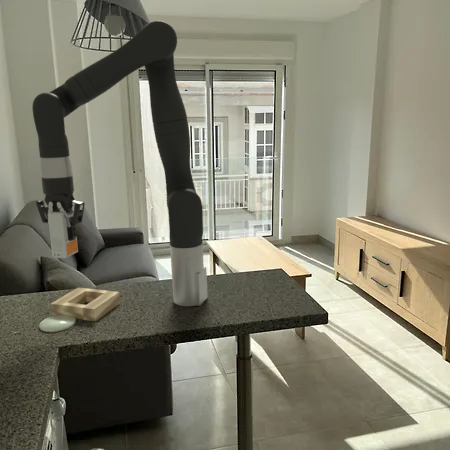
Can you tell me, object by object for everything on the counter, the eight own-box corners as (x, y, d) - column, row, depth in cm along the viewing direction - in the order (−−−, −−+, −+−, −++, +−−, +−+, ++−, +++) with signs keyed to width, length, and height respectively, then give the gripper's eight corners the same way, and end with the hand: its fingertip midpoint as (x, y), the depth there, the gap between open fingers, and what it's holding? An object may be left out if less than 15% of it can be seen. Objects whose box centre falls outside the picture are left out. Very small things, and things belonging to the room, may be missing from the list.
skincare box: (66, 258, 114) (61, 213, 111) (52, 257, 115) (46, 213, 112) (79, 251, 119) (74, 208, 116) (65, 251, 120) (60, 208, 117)
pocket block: (120, 303, 128) (118, 292, 127) (95, 321, 117) (94, 309, 116) (79, 298, 132) (78, 287, 132) (52, 315, 121) (50, 303, 121)
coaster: (82, 318, 119) (82, 316, 119) (60, 334, 111) (60, 331, 110) (55, 314, 122) (55, 312, 122) (31, 329, 113) (31, 327, 113)
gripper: (89, 173, 113) (95, 237, 117) (44, 172, 118) (52, 233, 122) (70, 177, 106) (77, 245, 110) (23, 175, 111) (32, 241, 115)
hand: (63, 239), depth 116 cm, fingers closed on skincare box, 4 cm apart
